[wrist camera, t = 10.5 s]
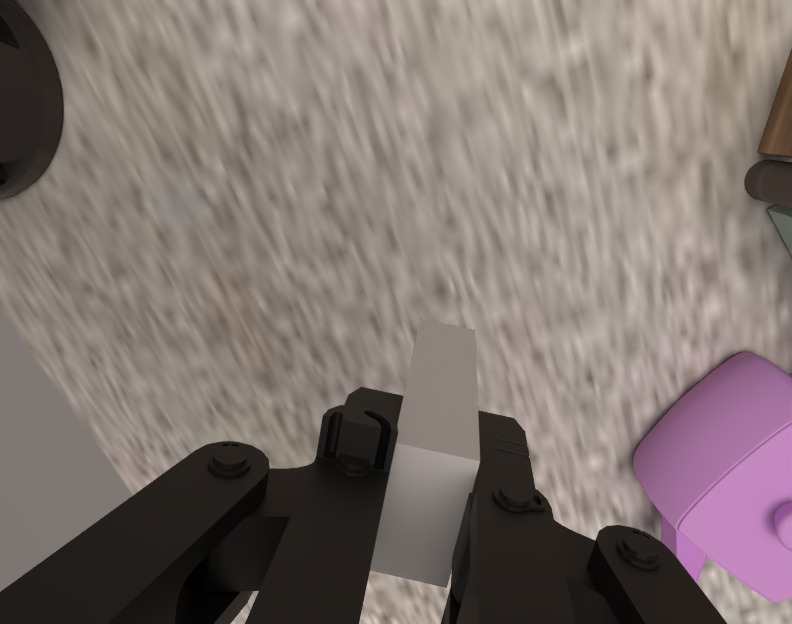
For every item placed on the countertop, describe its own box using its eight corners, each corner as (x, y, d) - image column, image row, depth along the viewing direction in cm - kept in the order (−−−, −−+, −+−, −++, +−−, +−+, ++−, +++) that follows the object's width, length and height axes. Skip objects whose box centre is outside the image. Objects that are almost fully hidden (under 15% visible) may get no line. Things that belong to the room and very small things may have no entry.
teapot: (689, 567, 46) (745, 686, 36) (580, 485, 45) (607, 585, 36) (892, 397, 40) (1021, 484, 31) (771, 301, 40) (865, 359, 30)
